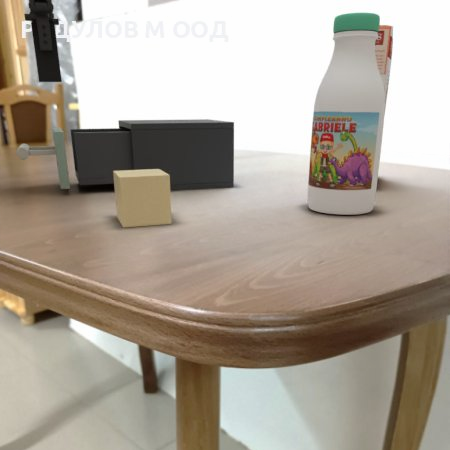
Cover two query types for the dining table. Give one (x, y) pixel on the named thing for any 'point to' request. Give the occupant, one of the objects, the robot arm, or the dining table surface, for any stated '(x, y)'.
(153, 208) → the block
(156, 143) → the dark grey box
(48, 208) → the dining table surface
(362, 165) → the milk bottle
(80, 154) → the drawer
